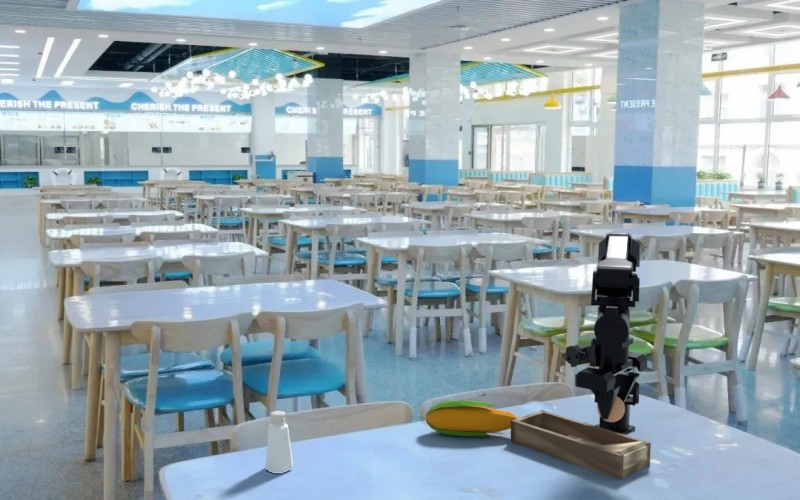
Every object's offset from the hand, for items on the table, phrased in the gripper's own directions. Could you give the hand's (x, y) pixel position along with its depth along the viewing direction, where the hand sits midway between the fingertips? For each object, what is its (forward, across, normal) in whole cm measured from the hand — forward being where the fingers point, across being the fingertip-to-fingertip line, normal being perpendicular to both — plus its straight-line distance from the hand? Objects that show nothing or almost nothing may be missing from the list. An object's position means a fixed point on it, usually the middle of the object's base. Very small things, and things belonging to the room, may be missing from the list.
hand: (611, 414), depth 152 cm
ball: (-1, 0, 0) cm, 1 cm away
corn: (+11, 0, -31) cm, 33 cm away
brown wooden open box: (+11, -4, -8) cm, 14 cm away
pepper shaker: (+10, +38, -49) cm, 63 cm away
